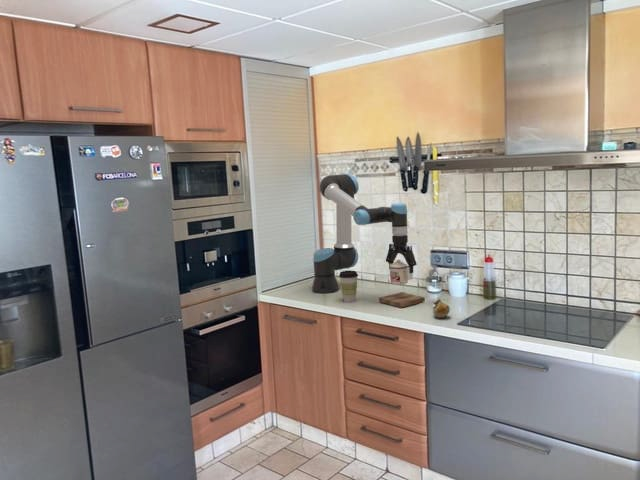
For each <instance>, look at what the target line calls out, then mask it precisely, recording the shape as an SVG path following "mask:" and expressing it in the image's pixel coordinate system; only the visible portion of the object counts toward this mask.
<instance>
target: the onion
mask: <svg viewBox="0 0 640 480" xmlns="http://www.w3.org/2000/svg"><path fill="white" fill-rule="evenodd" d="M432 304H433V305H434V306H433V308H432V314H433V315H434V316H435V317H436V318H438V319H444V318H445V317H447V315H449V313H450V310H451V309H450V306H449V305H448V304H446V303H445V302H442V300H441V299H440V298H439V299H436V300H432Z"/></svg>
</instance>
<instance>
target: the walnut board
mask: <svg viewBox="0 0 640 480" xmlns="http://www.w3.org/2000/svg"><path fill="white" fill-rule="evenodd" d="M425 298H426V297H424V296H420V295H418V294H411V293H407V292H403V291H402V292H397V293H394V294H389V295H385V296H380V297H379V298H378V301H379V302H380V303H381V302H382V303H381V304H387V305H391V306H395V307H398V308H401V309H402V308H405V307H409V306H412V305H415V304H421V303H424V302H425Z"/></svg>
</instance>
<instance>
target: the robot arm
mask: <svg viewBox="0 0 640 480" xmlns="http://www.w3.org/2000/svg"><path fill="white" fill-rule="evenodd" d="M318 188H319V192H320V194H321V195H322V197H324V198H325V199H326V200H327V201H332V202H333V203H334V204H335V205H336V207H335V208H336V212H335V215H336V216H335V217H336V219H335V220H336V224H335V225H336V230H335V231H336V243H335V244H334V245H333V248H332V247H326V248H319V249H316V250H315V251H314V253H313V259H312V261H313V272H314V279H313V282H312V286H311V291H312V292H313V293H316V294H331V293H335V292H338V291H339V288H340V287H339V283H338V281H337V278H336V271H338V270H344V269H350V268H353V267H355V266H356V265H357V263H358V261H359V252H358V250H357V248H356V247H355V245H354V244H353V243H352V217H353V222H354V223H355V224H356V225H358V226H366V225H372V224H380V223H391V233H392V235H391V237H392V238H391V240H392V243H389V244H388V250H387V254H386V258H385V262H387V263H388V269H389V270H390V265H391V264H394V263H395V260H396V258H397V256H398V254H399V255H401V256H402V257H403V258H404V260H405V261H406V264H407V265H408V267H407V269H408V281H410V280H413V279H414V267H415V266H417V261H416V257H415V255H414V252H413V245H408V241H409V239H408V209H407V204H406V203H402V202H400V203H392V204H391V206H390V207H389V206H379V207H375V208H368V207H366V206H365V205H363V204H362V203H361V202H359V201H358V200H356V199H355V195H357V193H358V191H359V189H360V188H359V182H358V179H357V178H356V176H355V175H353V174H351V173H350V174H348V173H344V174H343V173H342V174H329V175H327V176H325V177H323V178H322V179H321V181H320V183H319V187H318Z"/></svg>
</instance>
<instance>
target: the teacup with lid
mask: <svg viewBox="0 0 640 480" xmlns="http://www.w3.org/2000/svg"><path fill="white" fill-rule="evenodd" d="M407 267H408V264H407V263H404V262H402V260H400V259H397V260H396V262H395V261H394V264H391V265H390V269H389V277H390V280H389V281H390V284H392V285H394V286H395V285H396V286H399V285H400V286H402V285H407V284H408V283H409V280H408V269H407Z"/></svg>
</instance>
